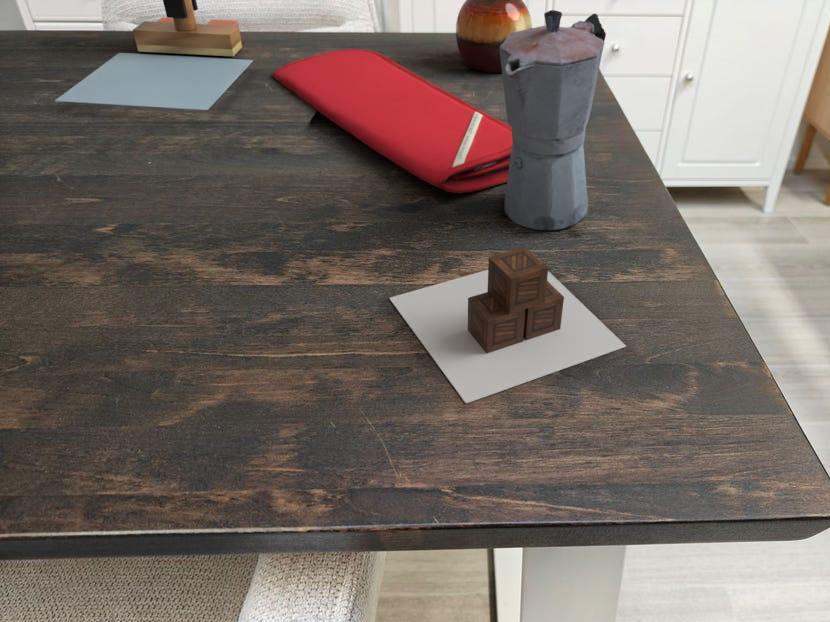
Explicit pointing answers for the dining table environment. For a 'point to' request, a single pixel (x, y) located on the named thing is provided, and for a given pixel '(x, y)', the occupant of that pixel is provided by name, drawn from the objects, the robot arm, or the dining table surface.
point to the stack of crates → (504, 325)
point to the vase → (488, 30)
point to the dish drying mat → (404, 118)
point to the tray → (158, 81)
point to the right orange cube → (223, 23)
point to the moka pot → (549, 119)
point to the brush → (187, 37)
